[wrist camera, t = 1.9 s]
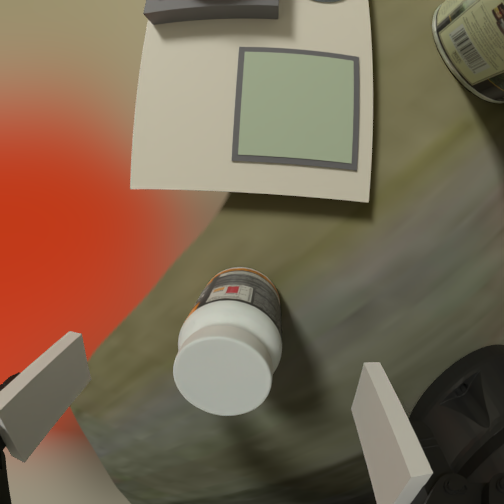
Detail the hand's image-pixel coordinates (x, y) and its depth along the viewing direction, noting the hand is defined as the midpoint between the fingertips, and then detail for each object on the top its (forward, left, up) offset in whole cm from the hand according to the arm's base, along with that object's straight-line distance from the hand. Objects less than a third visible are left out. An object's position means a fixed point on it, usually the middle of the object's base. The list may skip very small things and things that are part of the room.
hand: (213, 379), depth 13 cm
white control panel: (+19, 0, -10) cm, 21 cm away
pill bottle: (0, 0, -11) cm, 11 cm away
